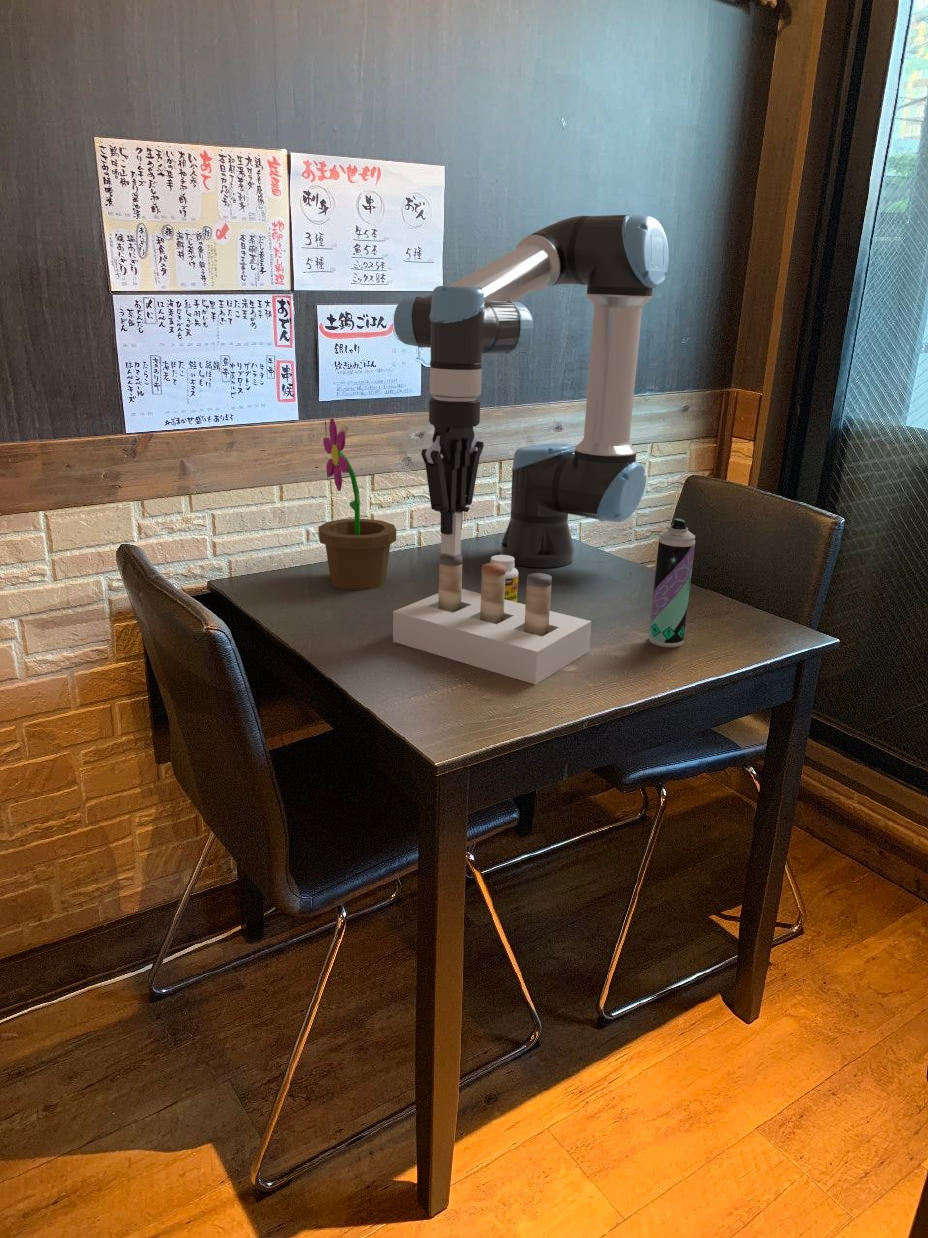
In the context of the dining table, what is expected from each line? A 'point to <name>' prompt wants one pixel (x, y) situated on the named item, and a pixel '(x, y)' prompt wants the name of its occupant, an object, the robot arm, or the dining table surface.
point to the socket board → (492, 637)
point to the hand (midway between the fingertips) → (450, 552)
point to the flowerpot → (353, 531)
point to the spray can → (672, 585)
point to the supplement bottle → (508, 576)
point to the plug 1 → (450, 582)
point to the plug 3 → (537, 604)
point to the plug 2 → (492, 592)
